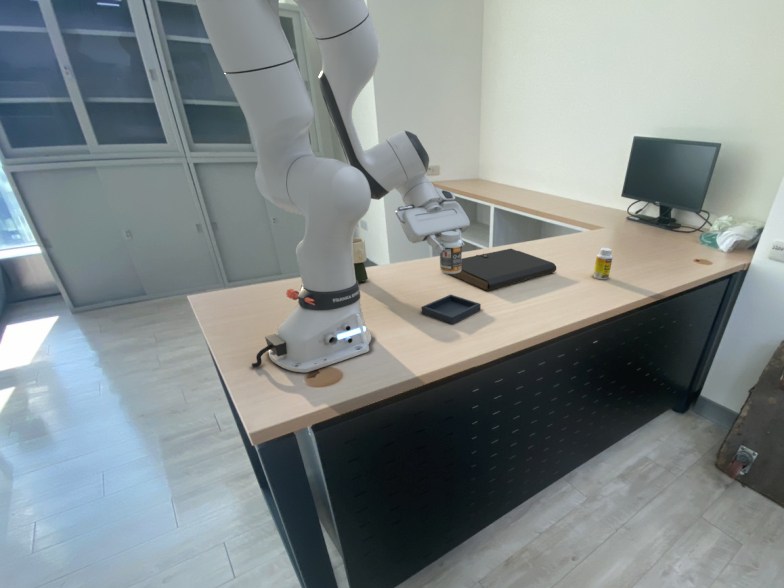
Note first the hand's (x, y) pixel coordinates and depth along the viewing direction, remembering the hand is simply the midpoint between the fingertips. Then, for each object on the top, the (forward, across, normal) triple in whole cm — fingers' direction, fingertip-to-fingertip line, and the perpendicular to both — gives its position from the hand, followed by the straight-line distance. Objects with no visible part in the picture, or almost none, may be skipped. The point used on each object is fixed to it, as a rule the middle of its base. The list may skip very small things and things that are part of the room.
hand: (452, 249), depth 105 cm
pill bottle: (+4, 0, +5) cm, 6 cm away
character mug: (-15, -4, +40) cm, 43 cm away
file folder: (+4, +38, +21) cm, 43 cm away
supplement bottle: (+24, +61, +1) cm, 65 cm away
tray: (+12, 0, +13) cm, 18 cm away
